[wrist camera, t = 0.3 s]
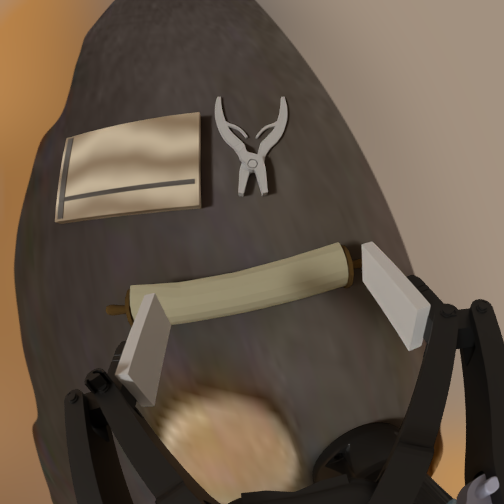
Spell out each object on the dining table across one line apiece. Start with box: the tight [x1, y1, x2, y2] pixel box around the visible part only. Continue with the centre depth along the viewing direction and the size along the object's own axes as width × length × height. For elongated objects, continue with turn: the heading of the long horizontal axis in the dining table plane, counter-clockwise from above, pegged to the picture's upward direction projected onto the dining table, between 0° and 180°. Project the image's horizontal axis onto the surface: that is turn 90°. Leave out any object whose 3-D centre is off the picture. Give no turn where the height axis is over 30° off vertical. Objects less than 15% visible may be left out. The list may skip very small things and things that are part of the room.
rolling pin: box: [106, 242, 362, 327], centre depth 30 cm, size 32×6×5 cm, turn 101°
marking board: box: [55, 112, 201, 224], centre depth 33 cm, size 13×21×2 cm, turn 94°
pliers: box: [215, 97, 287, 196], centre depth 34 cm, size 10×2×15 cm
